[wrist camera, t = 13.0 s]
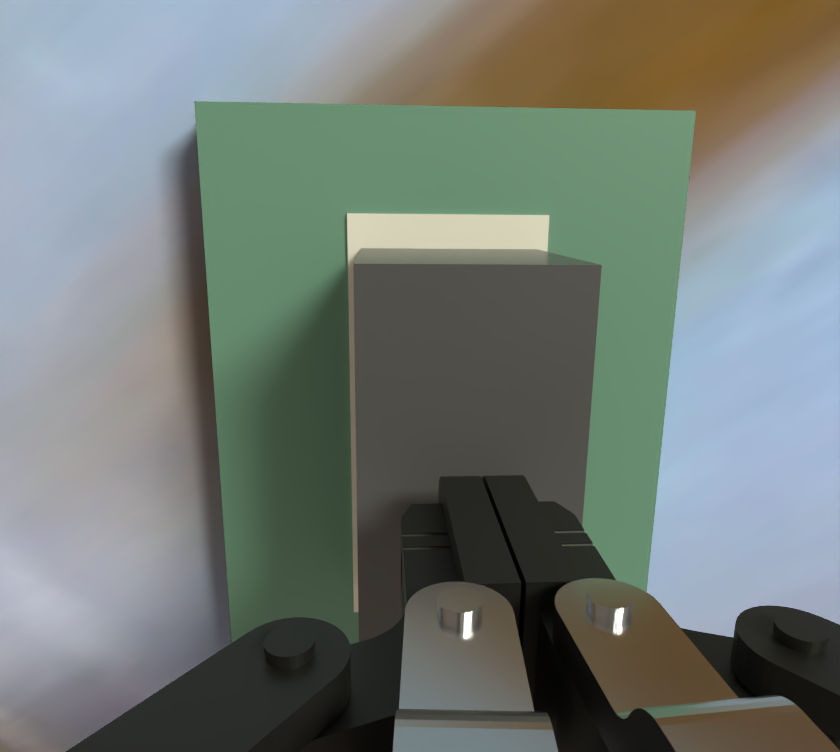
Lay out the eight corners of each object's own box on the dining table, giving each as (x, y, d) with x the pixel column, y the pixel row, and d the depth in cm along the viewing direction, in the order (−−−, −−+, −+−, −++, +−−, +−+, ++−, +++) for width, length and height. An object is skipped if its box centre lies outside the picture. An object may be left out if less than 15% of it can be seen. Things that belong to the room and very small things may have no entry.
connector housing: (361, 248, 16) (353, 263, 12) (537, 249, 17) (601, 264, 12) (364, 588, 19) (359, 720, 14) (519, 584, 19) (568, 712, 14)
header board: (210, 111, 17) (141, 70, 12) (669, 119, 18) (779, 84, 13) (244, 655, 21) (203, 791, 16) (620, 644, 21) (690, 770, 17)
